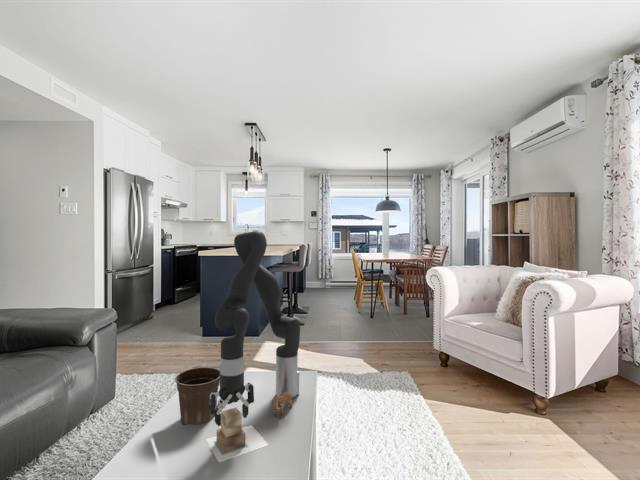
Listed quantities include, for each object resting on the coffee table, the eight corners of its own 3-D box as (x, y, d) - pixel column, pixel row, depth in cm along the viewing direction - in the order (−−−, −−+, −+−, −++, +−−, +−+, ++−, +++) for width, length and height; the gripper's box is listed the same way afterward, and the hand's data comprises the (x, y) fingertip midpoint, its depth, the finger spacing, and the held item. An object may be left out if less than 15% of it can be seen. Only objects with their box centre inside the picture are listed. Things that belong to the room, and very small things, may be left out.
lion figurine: (283, 423, 125) (283, 398, 125) (269, 421, 126) (269, 397, 126) (294, 404, 139) (294, 382, 139) (281, 403, 140) (281, 381, 140)
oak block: (235, 425, 114) (236, 407, 114) (241, 432, 109) (241, 413, 110) (220, 430, 111) (221, 411, 111) (226, 437, 107) (226, 418, 107)
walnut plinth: (237, 435, 115) (237, 423, 115) (245, 446, 109) (245, 433, 109) (216, 442, 111) (216, 429, 111) (223, 453, 105) (223, 440, 105)
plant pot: (206, 433, 118) (207, 386, 118) (164, 427, 121) (165, 382, 121) (228, 410, 134) (229, 369, 134) (191, 406, 137) (191, 365, 137)
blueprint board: (251, 427, 121) (251, 424, 121) (268, 448, 110) (268, 444, 110) (205, 442, 112) (205, 439, 112) (219, 465, 101) (219, 462, 101)
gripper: (248, 362, 117) (248, 409, 117) (206, 371, 109) (205, 422, 109) (257, 369, 111) (257, 419, 111) (213, 379, 103) (213, 433, 103)
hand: (231, 420), depth 110 cm, fingers open, 8 cm apart
